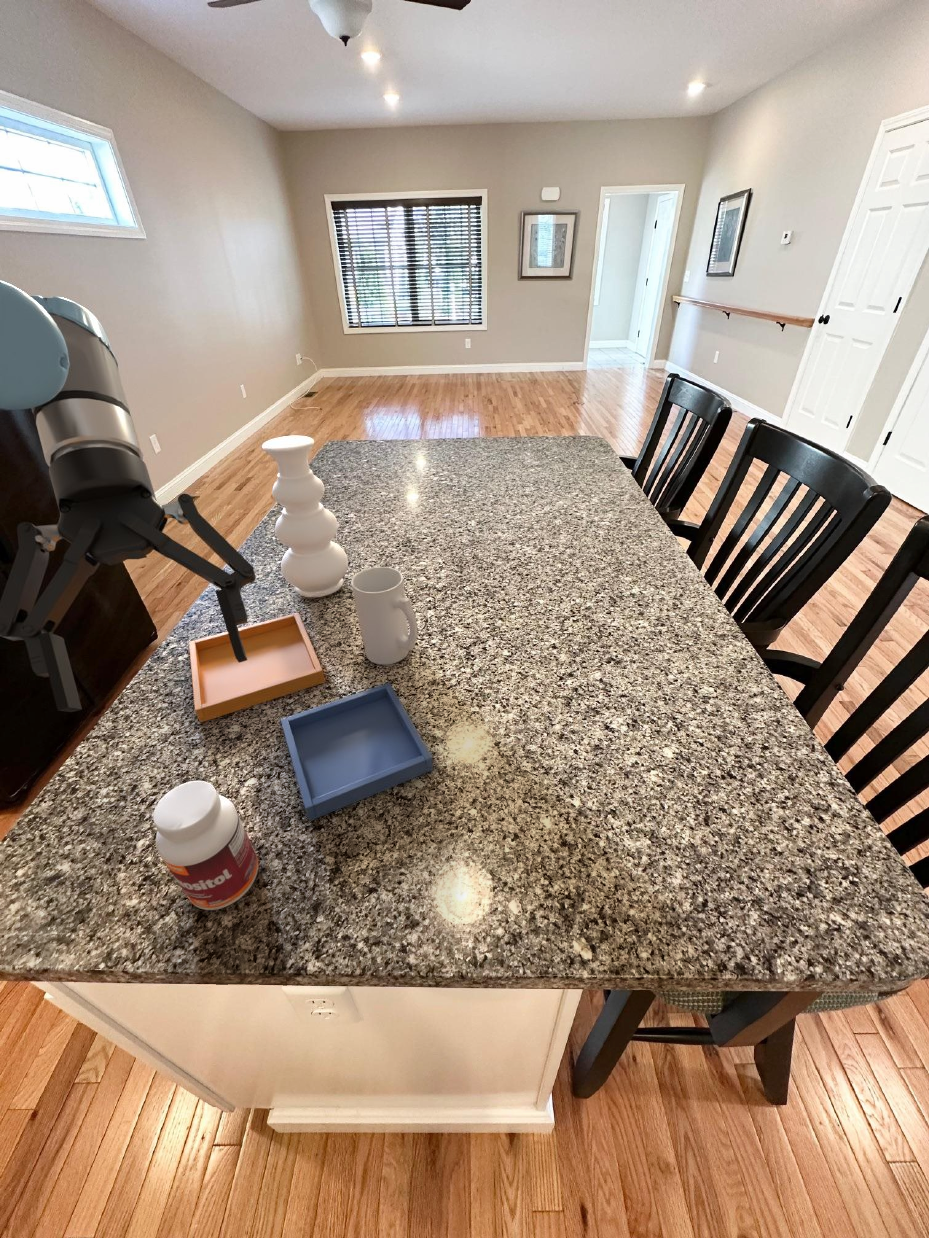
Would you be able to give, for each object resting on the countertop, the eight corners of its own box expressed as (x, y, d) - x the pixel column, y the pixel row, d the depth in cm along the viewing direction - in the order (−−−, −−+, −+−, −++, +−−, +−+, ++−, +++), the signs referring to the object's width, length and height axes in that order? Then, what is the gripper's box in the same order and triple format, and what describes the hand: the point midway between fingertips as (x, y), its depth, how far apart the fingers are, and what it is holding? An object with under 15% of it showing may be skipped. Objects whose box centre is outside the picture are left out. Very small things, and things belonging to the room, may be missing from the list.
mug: (354, 653, 73) (340, 581, 67) (389, 631, 78) (379, 561, 71) (402, 683, 68) (392, 608, 61) (437, 658, 72) (431, 585, 65)
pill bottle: (177, 916, 44) (125, 843, 38) (202, 849, 49) (160, 775, 43) (250, 909, 44) (210, 837, 38) (267, 843, 50) (235, 769, 43)
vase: (312, 568, 95) (280, 428, 80) (363, 577, 91) (340, 433, 77) (274, 598, 86) (231, 448, 72) (329, 610, 83) (296, 455, 69)
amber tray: (200, 722, 63) (194, 710, 62) (193, 653, 75) (188, 641, 73) (325, 682, 69) (322, 670, 67) (301, 623, 80) (298, 612, 79)
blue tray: (309, 821, 51) (305, 808, 50) (284, 731, 61) (280, 719, 60) (433, 769, 56) (432, 757, 55) (391, 694, 66) (389, 682, 65)
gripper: (243, 462, 55) (303, 647, 53) (-44, 510, 46) (11, 734, 44) (235, 422, 48) (303, 633, 46) (-105, 469, 39) (-43, 733, 37)
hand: (160, 683), depth 45 cm, fingers open, 13 cm apart
